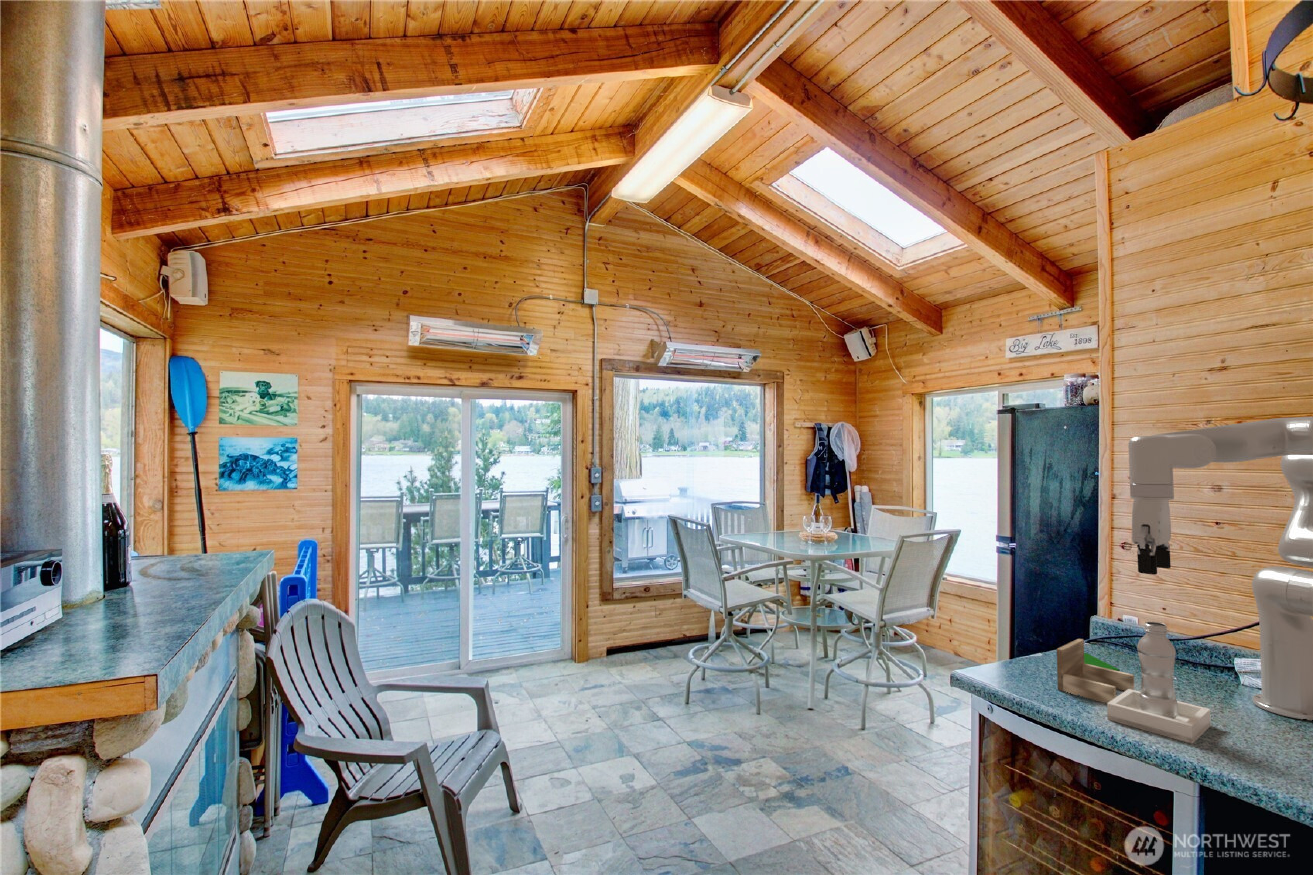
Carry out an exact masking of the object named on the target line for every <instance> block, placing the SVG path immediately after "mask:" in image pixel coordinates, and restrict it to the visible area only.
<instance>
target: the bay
mask: <svg viewBox="0 0 1313 875" xmlns="http://www.w3.org/2000/svg"><path fill="white" fill-rule="evenodd" d="M1084 653H1085V640H1084V639H1083V638H1077V639H1075V640H1073V641H1070V642H1068V643H1066V644H1064V645H1062V646H1059V647H1058V648H1056V668H1057V670H1056V673H1057V674H1056V675H1057V677H1056V678H1057V680H1056V681H1057V691H1059V690H1060V691H1061V692H1063V691H1066V692H1065V693H1067V692H1068V693H1067V694H1070V693H1071V695H1075V696H1078V695H1080V696H1079V697H1082V696H1083V697H1082V698H1085V699H1086V698H1087V699H1090V700H1093V701H1097V702H1100V703H1104V704H1107V703H1108V702H1110V701H1111V700H1113V699H1114V698H1116V697H1117V690H1121V691H1124V692H1125V691H1126V690H1128V689H1131V690H1135V674H1131V673H1128V672H1124V671H1115V670H1111V669H1107V668H1102V667H1098V666H1094V665H1089V664H1085V663H1084Z"/></svg>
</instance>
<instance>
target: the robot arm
mask: <svg viewBox="0 0 1313 875" xmlns="http://www.w3.org/2000/svg"><path fill="white" fill-rule="evenodd" d="M1127 445H1128V446H1127V447H1128V468H1129V471H1128V472H1129V495H1130V496H1129V497H1130V499H1133V502H1132V509H1131V511H1132V513H1131V542H1132V543H1133V544H1135V545H1136V548H1137V550H1136V553H1137V555H1136V556H1137V572H1138V573H1139V574H1145V575H1151V576H1153V575H1157V574H1158V569H1167V570H1168V569H1171V567H1172V565H1171V549H1170V547H1171V546H1170V543H1169V542H1170V541H1171V539H1172V526H1171V525H1172V524H1171V509H1170V508H1171V507H1170V500H1171V501H1173V500H1175V489H1174V488H1175V486H1174V469H1199V468H1203V467H1207V466H1208V465H1210V464H1211V463H1221V464H1224V463H1243V462H1248V461H1249V462H1250V461H1255V460H1261V459H1267V458H1277V457H1281V459H1280V471H1281V473H1282V475H1283V476H1284V477H1285V479H1286V481H1287V482H1288V484H1289V487H1290V488H1291V491H1292V494H1293V497H1294V504H1293V507H1292V510H1291V513H1290V516H1289V518H1288V521H1287V523H1286V525H1285V528H1284V529H1283V531H1282V535H1281V537H1280V539H1279V543H1278V546H1277V552H1278V555H1279V556H1280V558H1281V559H1282V560H1284V561H1285V562H1287V563H1289V564H1292V565H1296V566H1301V567H1306V568H1311V569H1313V416H1300V417H1299V416H1296V417H1293V416H1292V417H1280V418H1279V417H1277V418H1276V417H1275V418H1270V419H1263V420H1256V421H1254V420H1253V421H1249V422H1241V423H1233V424H1224V425H1219V426H1211V427H1204V428H1198V429H1196V428H1195V429H1190V430H1179V431H1171V432H1166V433H1158V434H1152V435H1140V436H1138V435H1137V436H1133V437H1131V438H1129V440H1128V444H1127ZM1251 588H1252V593H1253V597H1254V600H1255V603H1256V607H1257V612H1258V620H1259V621H1258V622H1259V644H1260V645H1259V647H1260V648H1259V649H1260V652H1259V653H1260V676H1261V678H1260V679H1261V683H1260V684H1261V693H1258V694H1255V695H1253V696H1252V702H1253V704H1254V705H1255V706H1256V707H1258V708H1260V709H1262V710H1265V711H1266V712H1267V711H1268V712H1271V713H1272V714H1273V713H1274V714H1276V715H1280V716H1284V717H1287V718H1293V719H1298V720H1303V719H1307V720H1306V721H1312V720H1313V571H1310V570H1306V569H1305V570H1304V569H1299V568H1298V569H1297V568H1292V567H1286V566H1268V567H1265V568H1261V569H1259V571H1257V572H1256V573H1255V574H1254V575H1253V578H1252V581H1251Z"/></svg>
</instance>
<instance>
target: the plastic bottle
mask: <svg viewBox="0 0 1313 875" xmlns="http://www.w3.org/2000/svg"><path fill="white" fill-rule="evenodd" d="M1143 630H1144V632H1145V634H1144V635H1143V636H1142V637H1141V638H1140V639H1139V641H1138V643H1137V645H1136V648H1137V654H1138V658H1139V664H1140V671H1141V674H1140V675H1141V684H1140V691H1139V692H1140V697H1139V705H1140V709H1141V710H1142V711H1145V712H1149V713H1153V714H1156V715H1160V716H1164V717H1168V718H1171V719H1175V718H1176V717H1177V715H1178V709H1179V708H1178V703H1177V701H1178V699H1177V698H1176V692H1175V690H1176V689H1175V686H1174V684H1175V683H1174V672H1175V671H1174V668H1175V663H1176V653H1177V652H1176V648H1175V646H1174V645H1173V643H1172V642H1171V641H1170V639H1169V638H1168V637H1167V635H1168V626H1167V624H1165V623H1162V622H1156V621H1146V622H1144V629H1143Z"/></svg>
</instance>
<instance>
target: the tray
mask: <svg viewBox="0 0 1313 875" xmlns="http://www.w3.org/2000/svg"><path fill="white" fill-rule="evenodd" d="M1140 692H1141V691H1139V690H1135V689H1134V690H1131V689H1128V690H1126V691H1124V692H1122V693H1120V694H1119V695H1116V698H1114V699H1113V700H1111V701H1110V702H1108V703H1106V708H1107V710H1106V713H1107V714H1106V716H1107V719H1106V720H1108V721H1112V722H1115V723H1118V724H1123V725H1125V726H1127V727H1128V726H1129V727H1133V728H1136V729H1139V730H1143V731H1146V732H1150V733H1153V734H1157V735H1161V736H1163V737H1167V738H1170V739H1175V740H1176V741H1177V740H1178V741H1182V742H1184V743H1188V744H1192V745H1193V744H1194V743H1195V742H1197V741H1198V739H1199V738H1200V737H1201V736H1202V735H1203V734H1204V733H1205V732H1206V731H1207V730H1209V728H1210V727H1211V725H1212V722H1211V721H1212V720H1211V708H1208V707H1204V706H1200V705H1195V704H1192V703H1187V702H1184V701H1180V700H1177V703H1178V708H1179V709H1178V715H1177V717H1176V718H1175V719H1171V718H1168V717H1164V716H1160V715H1156V714H1153V713H1149V712H1145V711H1142V710H1141V709H1140V705H1139V697H1140Z"/></svg>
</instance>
